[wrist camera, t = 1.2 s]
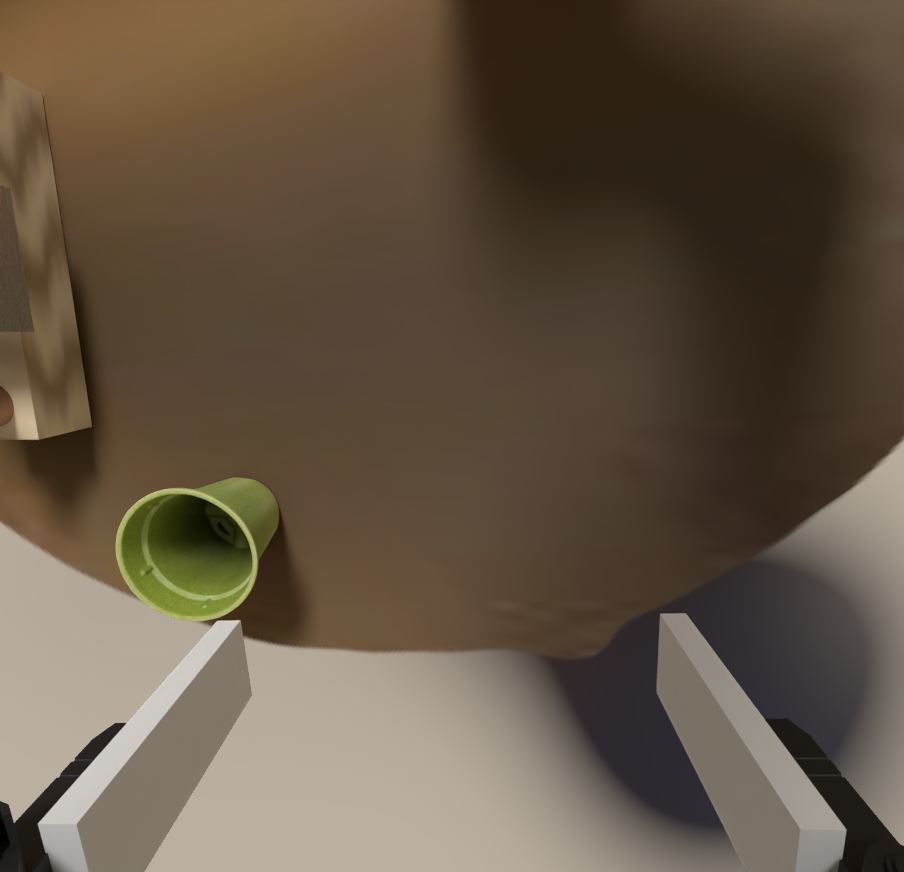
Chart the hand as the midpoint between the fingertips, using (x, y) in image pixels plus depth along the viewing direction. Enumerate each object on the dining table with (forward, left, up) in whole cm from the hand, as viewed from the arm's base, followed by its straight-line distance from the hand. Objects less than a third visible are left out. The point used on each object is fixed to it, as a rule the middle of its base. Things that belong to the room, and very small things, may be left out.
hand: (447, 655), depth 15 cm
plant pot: (+5, -18, -25) cm, 31 cm away
